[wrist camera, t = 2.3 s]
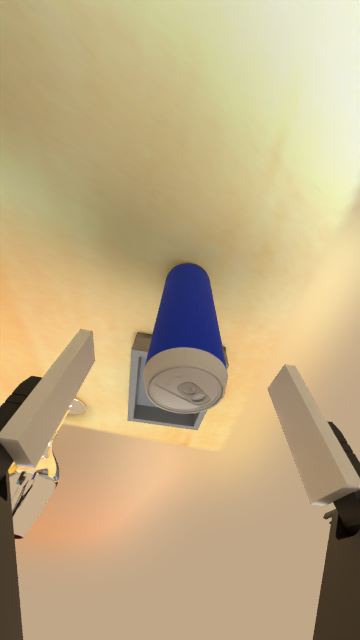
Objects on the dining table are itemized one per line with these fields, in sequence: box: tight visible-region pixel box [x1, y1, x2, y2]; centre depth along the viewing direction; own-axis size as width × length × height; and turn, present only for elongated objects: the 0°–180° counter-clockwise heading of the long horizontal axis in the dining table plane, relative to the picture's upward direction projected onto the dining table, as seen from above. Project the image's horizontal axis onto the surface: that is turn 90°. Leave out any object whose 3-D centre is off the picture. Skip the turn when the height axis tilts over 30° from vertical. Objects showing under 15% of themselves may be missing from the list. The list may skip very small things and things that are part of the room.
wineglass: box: [8, 398, 86, 539], centre depth 33 cm, size 8×8×18 cm
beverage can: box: [143, 263, 228, 414], centre depth 17 cm, size 5×5×15 cm
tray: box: [128, 333, 229, 430], centre depth 33 cm, size 18×13×4 cm
